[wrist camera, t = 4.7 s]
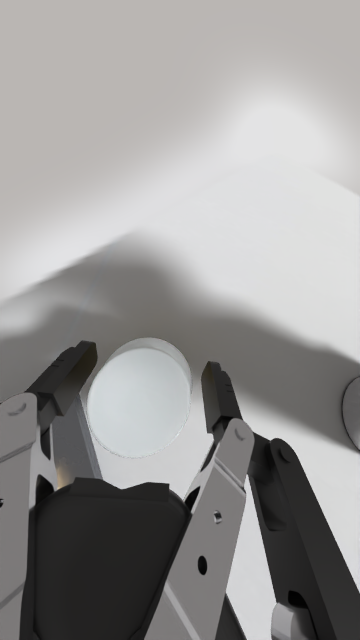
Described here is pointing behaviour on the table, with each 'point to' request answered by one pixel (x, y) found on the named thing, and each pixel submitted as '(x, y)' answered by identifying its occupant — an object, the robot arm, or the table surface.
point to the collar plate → (73, 446)
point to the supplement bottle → (140, 398)
